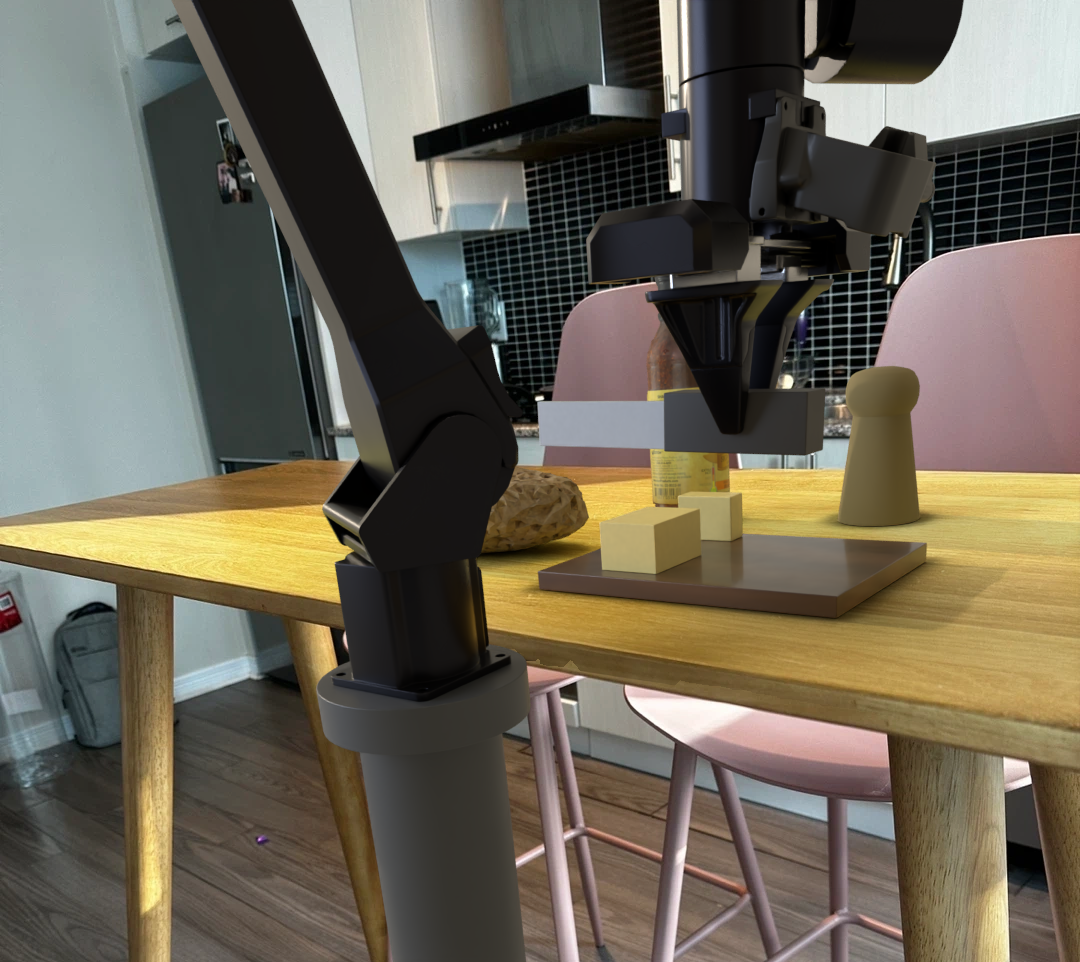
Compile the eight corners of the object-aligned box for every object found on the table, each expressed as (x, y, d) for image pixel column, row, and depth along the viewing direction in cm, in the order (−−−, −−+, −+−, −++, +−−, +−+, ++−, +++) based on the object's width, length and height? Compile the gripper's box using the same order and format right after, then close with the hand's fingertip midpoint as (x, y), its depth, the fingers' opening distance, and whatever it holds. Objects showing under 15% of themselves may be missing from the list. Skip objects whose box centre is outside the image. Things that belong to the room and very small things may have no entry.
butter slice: (731, 541, 69) (730, 496, 68) (679, 539, 71) (677, 495, 70) (743, 536, 71) (742, 492, 69) (691, 534, 73) (690, 491, 72)
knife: (805, 455, 50) (807, 391, 49) (530, 447, 60) (527, 394, 59) (823, 450, 52) (826, 388, 51) (552, 443, 62) (550, 390, 60)
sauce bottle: (736, 525, 81) (731, 249, 74) (657, 531, 81) (644, 257, 74) (723, 511, 87) (717, 255, 80) (649, 518, 87) (637, 263, 80)
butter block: (656, 574, 62) (654, 524, 61) (601, 570, 64) (598, 522, 63) (701, 555, 66) (700, 508, 65) (648, 551, 68) (646, 506, 67)
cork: (933, 513, 78) (941, 361, 75) (898, 528, 74) (904, 368, 71) (859, 509, 82) (863, 365, 79) (822, 523, 78) (824, 372, 75)
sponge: (338, 567, 85) (456, 541, 68) (332, 471, 84) (450, 421, 68) (475, 566, 92) (612, 543, 76) (470, 478, 91) (608, 435, 75)
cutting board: (836, 618, 54) (837, 596, 54) (538, 589, 66) (537, 571, 66) (926, 561, 64) (927, 542, 64) (654, 545, 76) (653, 529, 76)
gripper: (828, -2, 36) (819, 455, 41) (981, 73, 49) (959, 410, 55) (569, 68, 42) (591, 455, 48) (767, 117, 56) (767, 414, 61)
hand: (742, 431), depth 53 cm, fingers closed on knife, 2 cm apart
